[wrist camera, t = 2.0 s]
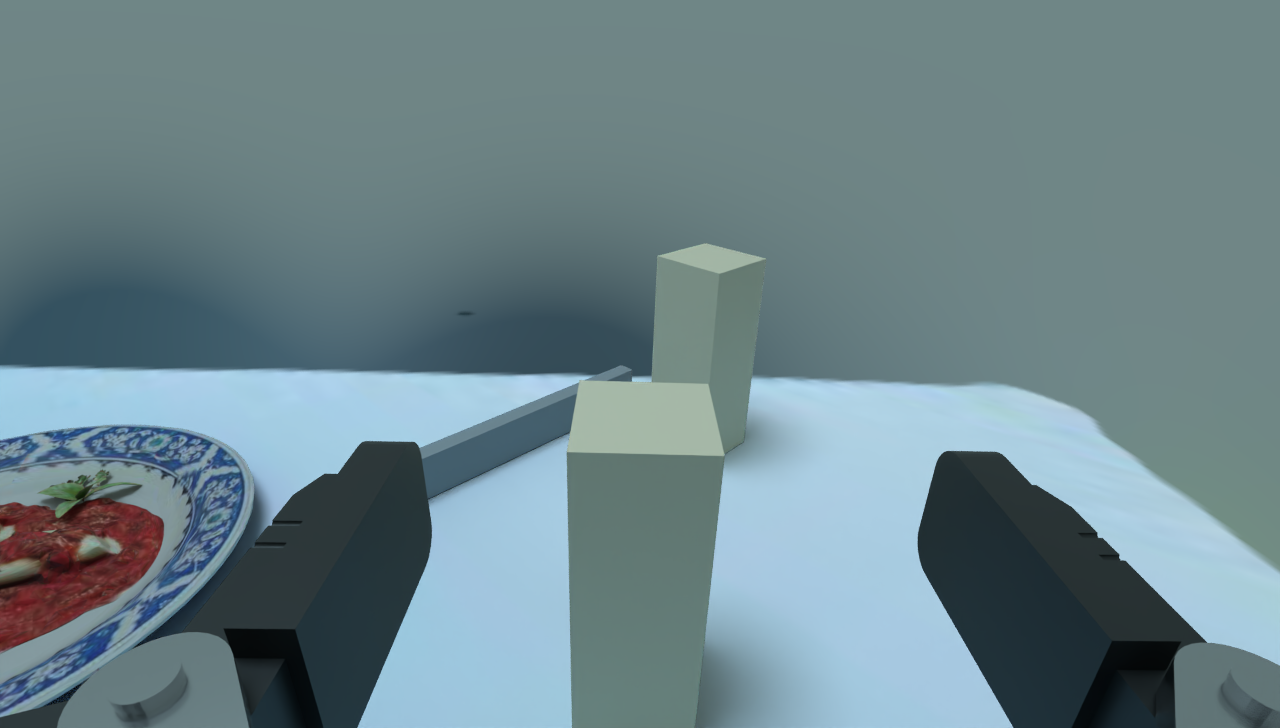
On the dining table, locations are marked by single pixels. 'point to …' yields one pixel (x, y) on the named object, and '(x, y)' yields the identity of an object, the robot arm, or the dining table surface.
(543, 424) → the rail
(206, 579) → the ceramic plate
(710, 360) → the faced carton
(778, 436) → the dining table surface
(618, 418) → the carton
